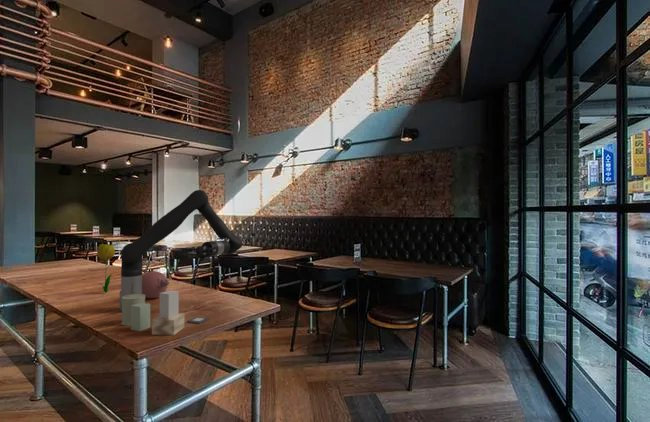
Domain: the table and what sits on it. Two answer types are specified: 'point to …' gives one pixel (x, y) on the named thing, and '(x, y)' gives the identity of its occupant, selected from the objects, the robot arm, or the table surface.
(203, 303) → the table surface
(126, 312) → the can
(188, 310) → the table surface
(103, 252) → the flower
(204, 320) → the card
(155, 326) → the base block
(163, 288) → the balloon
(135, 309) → the sage block
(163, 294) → the grey block
